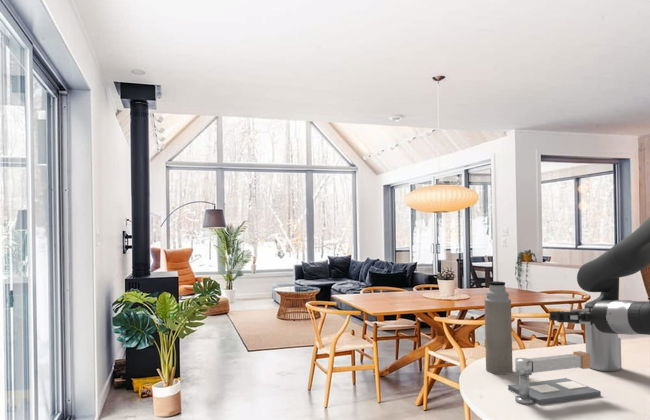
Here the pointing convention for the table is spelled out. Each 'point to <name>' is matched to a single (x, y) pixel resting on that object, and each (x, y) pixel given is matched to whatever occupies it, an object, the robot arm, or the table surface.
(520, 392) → the post
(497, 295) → the thermos bottle
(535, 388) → the label tray
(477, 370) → the table surface
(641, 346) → the table surface
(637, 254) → the robot arm
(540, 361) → the swing arm
